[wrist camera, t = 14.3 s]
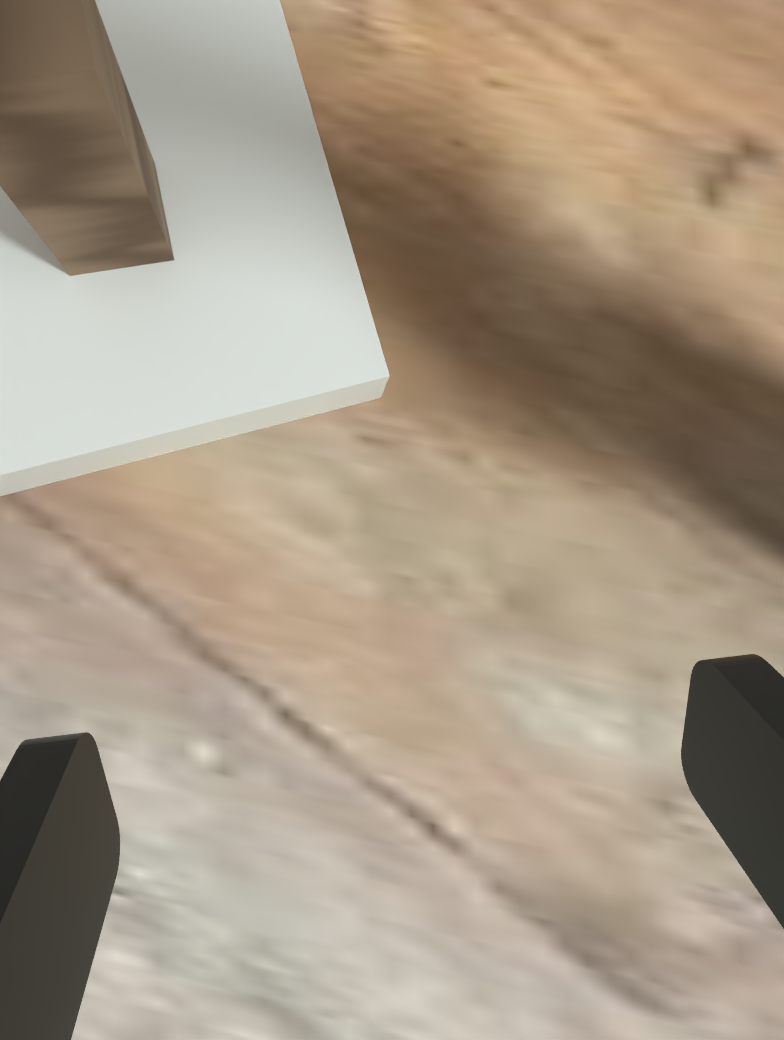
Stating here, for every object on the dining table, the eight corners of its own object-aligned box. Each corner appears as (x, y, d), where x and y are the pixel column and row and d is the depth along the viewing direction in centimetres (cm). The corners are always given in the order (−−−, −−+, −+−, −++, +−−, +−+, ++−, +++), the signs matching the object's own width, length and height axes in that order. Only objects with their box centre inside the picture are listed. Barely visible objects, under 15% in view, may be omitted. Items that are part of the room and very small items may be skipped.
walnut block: (155, 164, 32) (65, -80, 20) (174, 260, 32) (95, 70, 20) (51, 178, 31) (-104, -66, 20) (70, 275, 31) (-76, 89, 19)
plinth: (274, 35, 37) (271, -29, 33) (380, 398, 36) (389, 376, 32) (-127, 108, 35) (-183, 47, 31) (-23, 502, 34) (-67, 492, 30)
